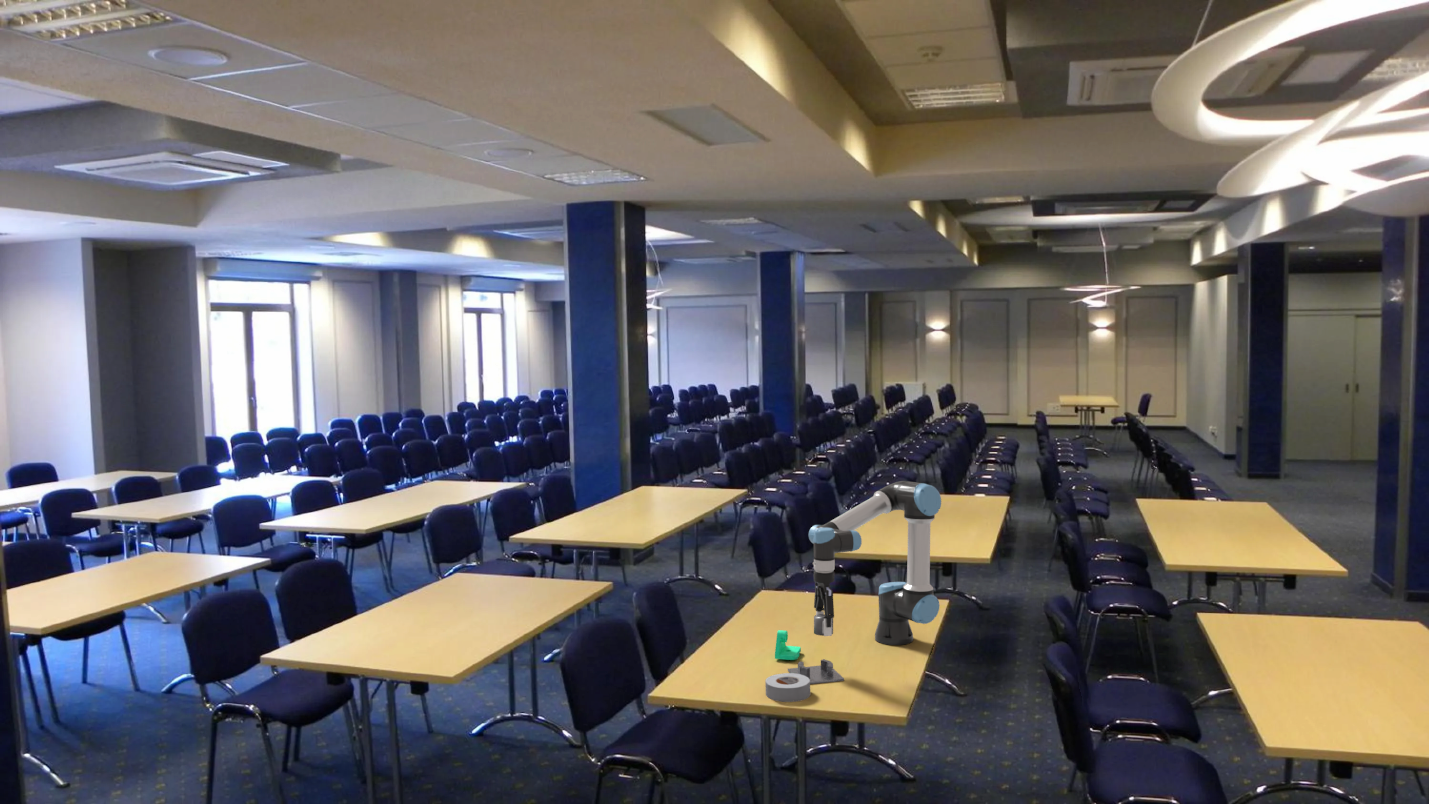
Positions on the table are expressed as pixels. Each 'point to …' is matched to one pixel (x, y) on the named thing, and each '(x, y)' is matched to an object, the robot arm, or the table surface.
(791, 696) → the tape roll
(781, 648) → the camera mount
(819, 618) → the cap
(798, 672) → the ball joint plate
